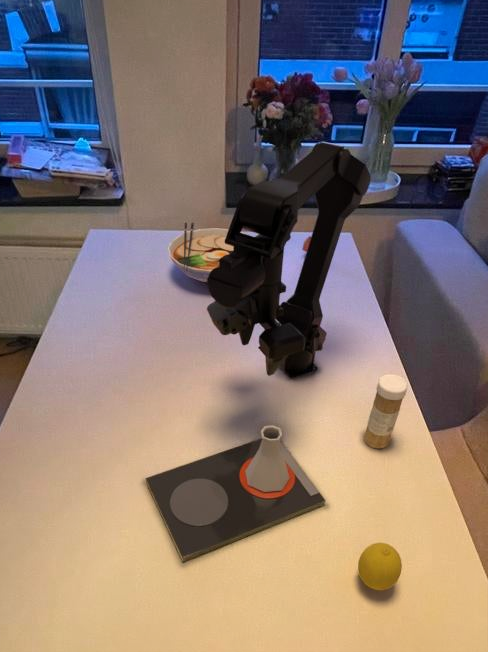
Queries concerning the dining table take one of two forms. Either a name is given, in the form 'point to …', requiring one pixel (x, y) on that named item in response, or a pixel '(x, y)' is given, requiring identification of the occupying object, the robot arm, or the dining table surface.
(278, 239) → the robot arm
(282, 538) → the dining table surface
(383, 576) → the lemon
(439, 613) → the dining table surface
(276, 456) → the flask
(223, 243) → the ramen bowl
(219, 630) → the dining table surface
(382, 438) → the sprinkles bottle
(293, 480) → the cooktop
